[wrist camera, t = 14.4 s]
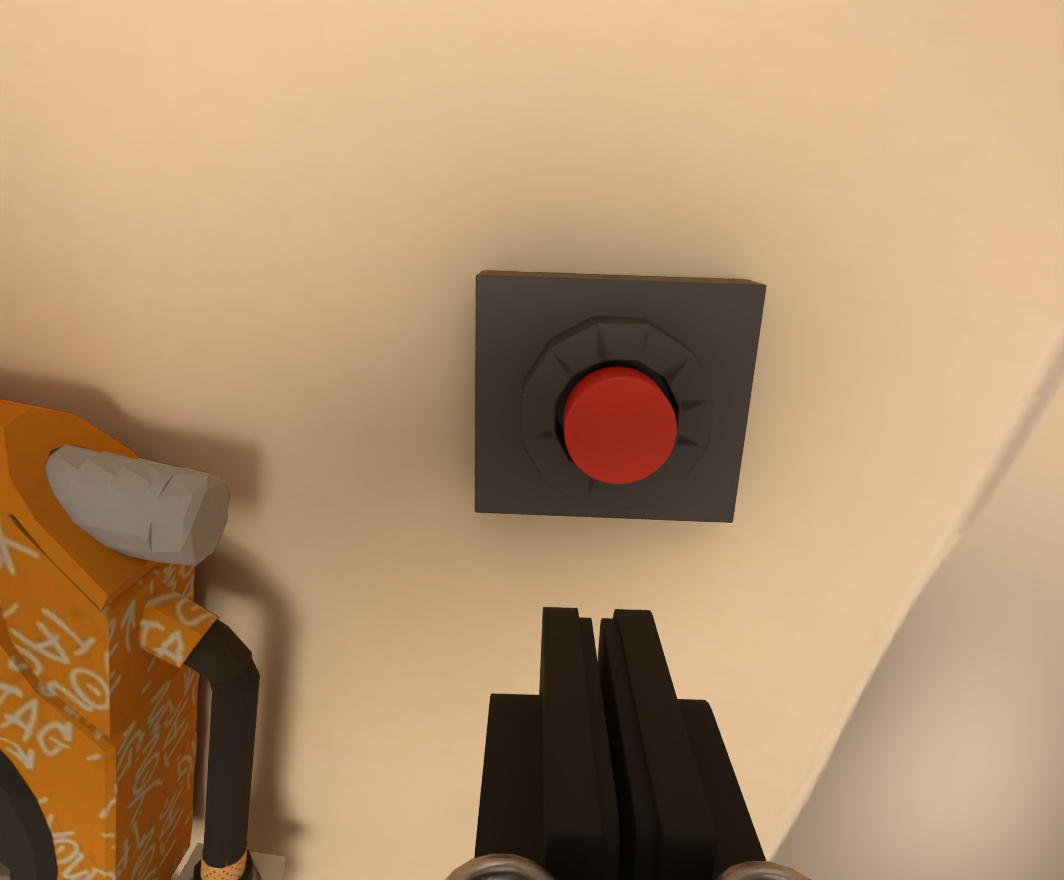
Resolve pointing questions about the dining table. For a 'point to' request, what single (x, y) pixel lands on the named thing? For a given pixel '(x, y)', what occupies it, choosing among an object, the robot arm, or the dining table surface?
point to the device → (114, 664)
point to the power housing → (603, 341)
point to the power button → (618, 425)
